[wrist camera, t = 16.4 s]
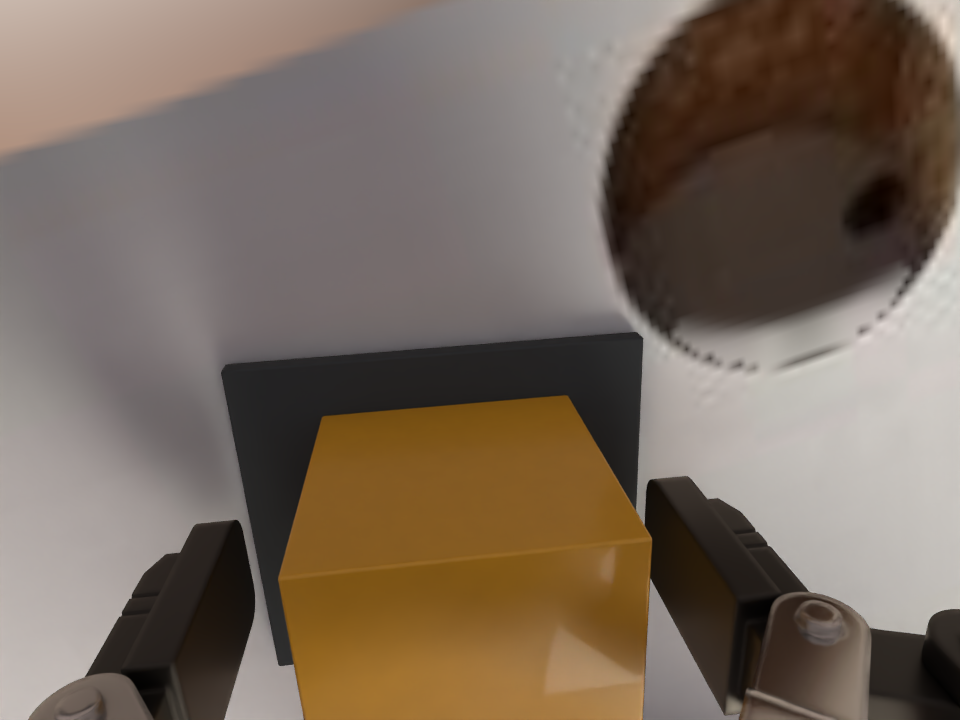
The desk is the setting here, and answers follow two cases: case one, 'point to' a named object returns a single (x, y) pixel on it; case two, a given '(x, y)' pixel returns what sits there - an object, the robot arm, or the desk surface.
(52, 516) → the desk surface
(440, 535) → the mustard block
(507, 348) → the slate mat
